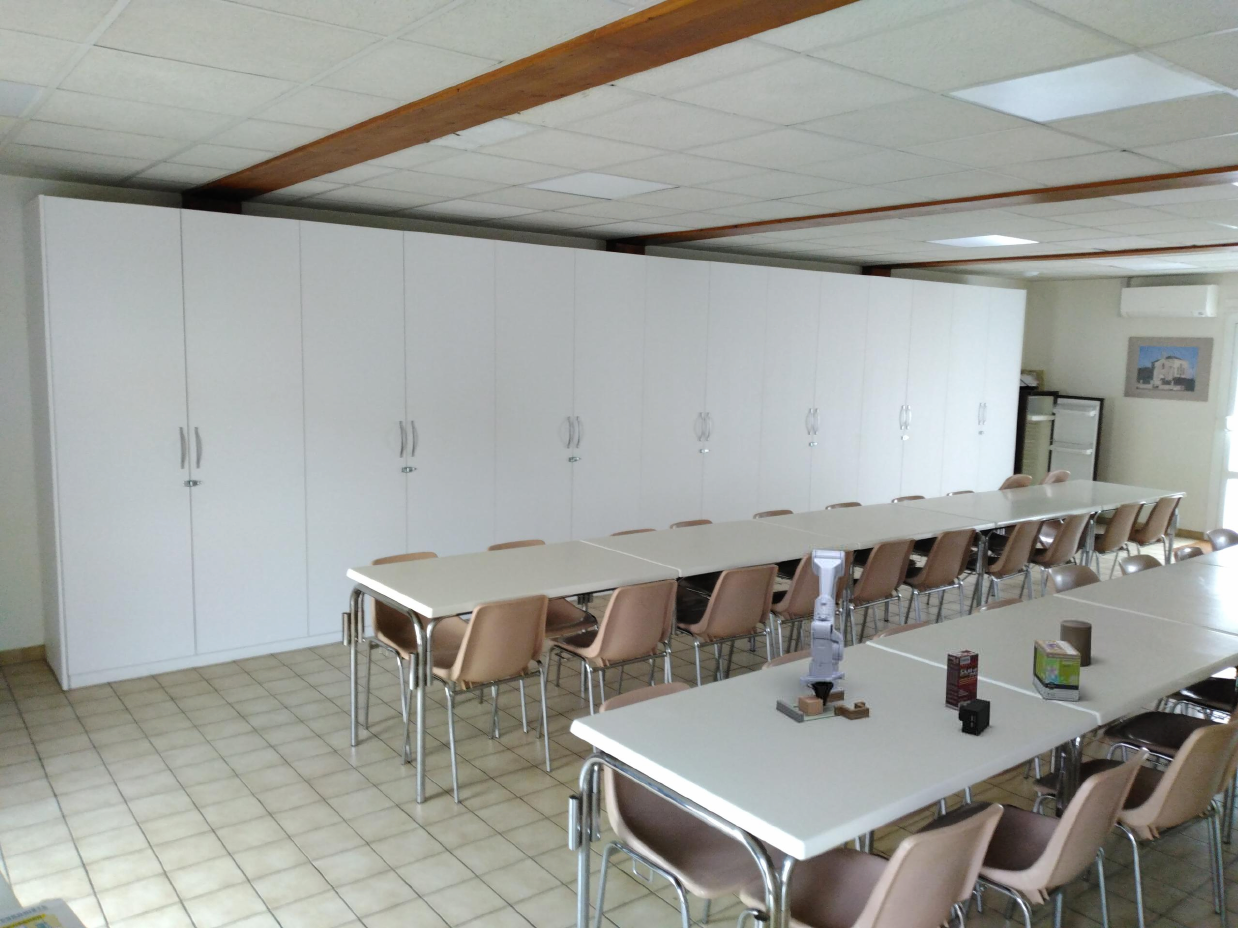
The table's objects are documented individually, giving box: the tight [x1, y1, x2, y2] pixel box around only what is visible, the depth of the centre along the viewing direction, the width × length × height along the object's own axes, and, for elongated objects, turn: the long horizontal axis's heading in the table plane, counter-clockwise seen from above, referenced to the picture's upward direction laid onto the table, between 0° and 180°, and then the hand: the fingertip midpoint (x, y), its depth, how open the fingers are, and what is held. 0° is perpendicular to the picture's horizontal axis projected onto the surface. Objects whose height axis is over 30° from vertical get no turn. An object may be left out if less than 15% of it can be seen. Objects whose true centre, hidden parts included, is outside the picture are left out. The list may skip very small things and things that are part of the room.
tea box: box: [1032, 639, 1081, 702], centre depth 278 cm, size 15×10×15 cm
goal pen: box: [776, 699, 836, 723], centre depth 262 cm, size 12×12×2 cm
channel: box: [813, 690, 870, 721], centre depth 265 cm, size 16×10×2 cm, turn 22°
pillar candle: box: [1059, 619, 1093, 667], centre depth 308 cm, size 10×10×15 cm
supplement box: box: [944, 649, 979, 711], centre depth 267 cm, size 9×5×16 cm, turn 120°
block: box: [797, 694, 824, 717], centre depth 263 cm, size 5×5×4 cm
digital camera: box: [957, 697, 991, 737], centre depth 250 cm, size 10×5×7 cm, turn 141°
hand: (821, 705), depth 264 cm, fingers closed
